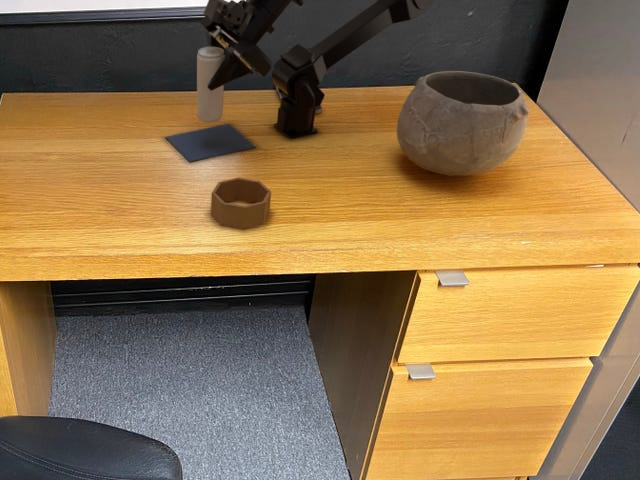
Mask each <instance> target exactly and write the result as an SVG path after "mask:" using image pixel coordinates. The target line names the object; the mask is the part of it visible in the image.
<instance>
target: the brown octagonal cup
mask: <svg viewBox="0 0 640 480" xmlns="http://www.w3.org/2000/svg"><path fill="white" fill-rule="evenodd" d="M271 199H272V191H271V190H270V189H269V188H268V187H267V186H266V185H265V184H264V183H263V182H262V181H260V180H256V179H250V178H244V177H233V178H230V179H225V180H222V181H218V182H217V183H216V186H215V187H214V188H213V190H212V191H211V199H210V200H211V202H210V215H211V216H212V217H213V218H214V219H215V220H216V221H217V222H218V223H219V224H220V225H221V226H223V227H228V228H229V227H230V228H234V229H238V230H246V229H250V228H254V227H258V226H262V225H264V224H265V222H266V220H267V218H268V216H269V214H270V211H271V210H270V209H271ZM235 201H241V202H246V203H251V204H247V205H241V204H235V203H231V202H235Z"/></svg>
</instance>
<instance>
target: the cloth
mask: <svg viewBox="0 0 640 480" xmlns="http://www.w3.org/2000/svg"><path fill="white" fill-rule="evenodd" d="M165 139H166V141H167V142H168V143H169V144H170V145H171V146H173V147H174V149H175V150H176V151H177V152H179V153H180V155H181V156H182V157H184V159H185V160H187V162H188V163H193V162H199V161H203V160H207V159H213V158H216V157H221V156H226V155H231V154H234V153H239V152H243V151H249V150H252V149H256V148H257V146H256V145H255V144H254V143H252V141H250V140H249V139H248V138H246V137H245V136H244V135H243V134H242V133H240V132H239V130H237V129H236V128H235V127H234V126H232V125H231V124H230V123H226V124H221V125H216V126H211V127H207V128H201V129H197V130H192V131H188V132H187V131H186V132H183V133H177V134H173V135H169V136H165Z"/></svg>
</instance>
